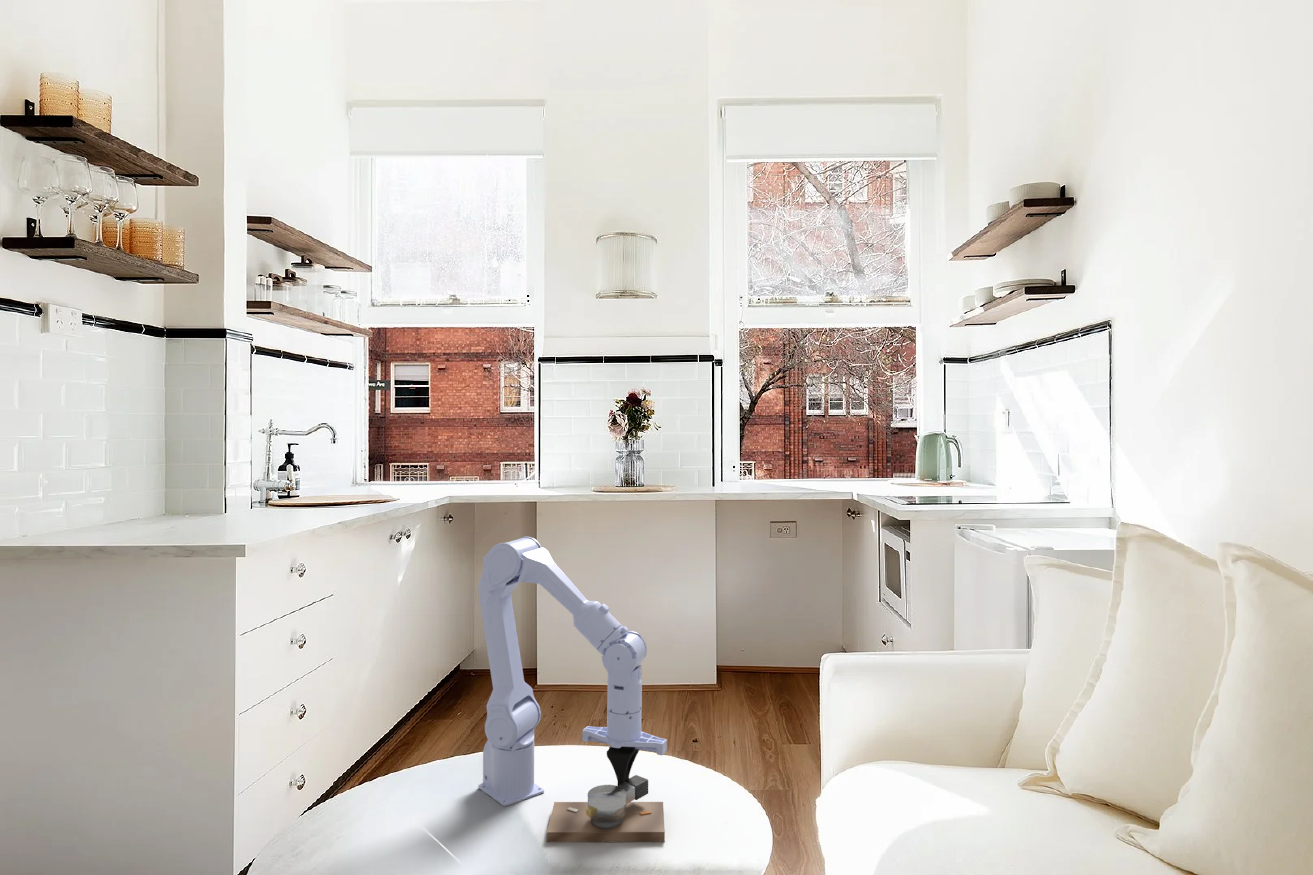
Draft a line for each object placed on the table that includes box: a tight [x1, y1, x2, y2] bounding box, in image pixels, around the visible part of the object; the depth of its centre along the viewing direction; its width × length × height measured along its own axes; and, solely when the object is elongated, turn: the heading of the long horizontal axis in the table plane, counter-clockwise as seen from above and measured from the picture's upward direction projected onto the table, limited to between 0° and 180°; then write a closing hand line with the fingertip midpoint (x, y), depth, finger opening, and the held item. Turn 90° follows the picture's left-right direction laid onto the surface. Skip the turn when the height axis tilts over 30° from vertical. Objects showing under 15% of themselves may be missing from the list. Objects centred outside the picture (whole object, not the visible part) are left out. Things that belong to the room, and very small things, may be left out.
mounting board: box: [546, 801, 666, 843], centre depth 122 cm, size 10×18×2 cm, turn 91°
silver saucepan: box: [586, 774, 649, 822], centre depth 122 cm, size 13×6×3 cm, turn 140°
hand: (623, 789), depth 127 cm, fingers closed
